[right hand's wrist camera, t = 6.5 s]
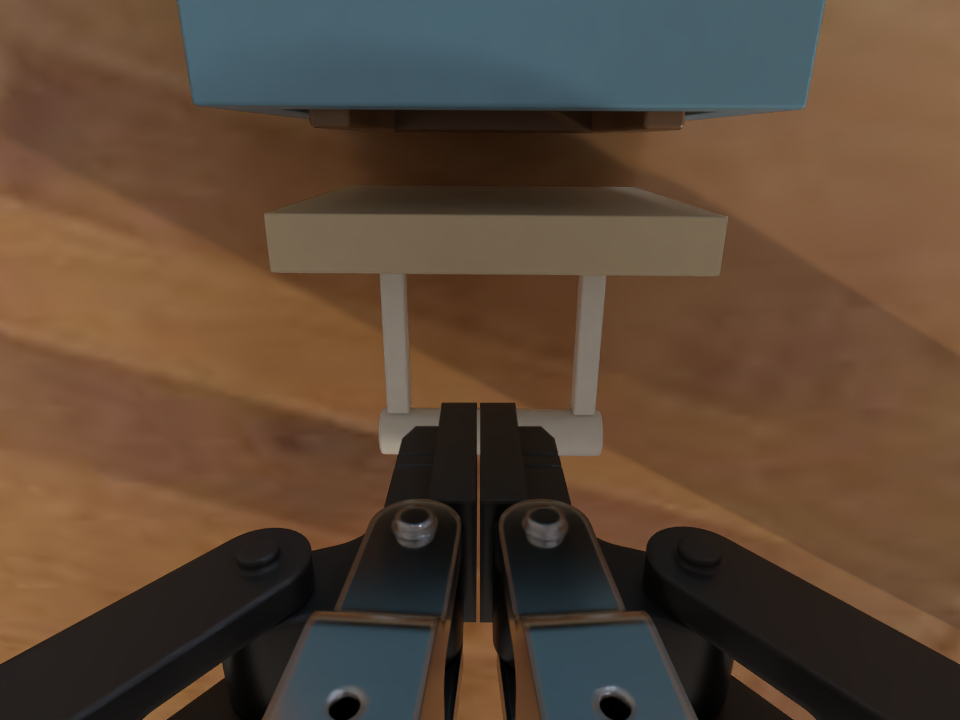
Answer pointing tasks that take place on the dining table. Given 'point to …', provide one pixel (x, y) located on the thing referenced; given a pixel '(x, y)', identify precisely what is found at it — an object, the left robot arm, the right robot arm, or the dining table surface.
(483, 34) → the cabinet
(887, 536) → the dining table surface
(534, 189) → the drawer
